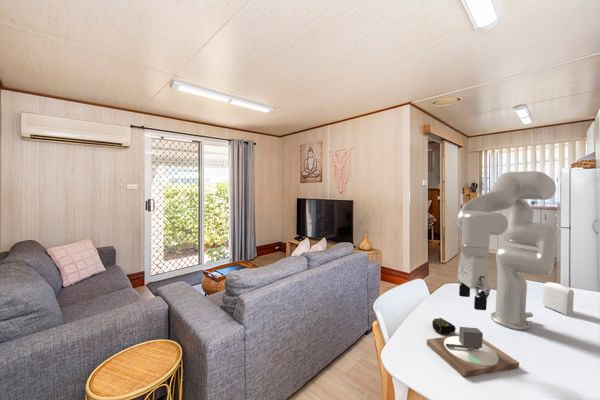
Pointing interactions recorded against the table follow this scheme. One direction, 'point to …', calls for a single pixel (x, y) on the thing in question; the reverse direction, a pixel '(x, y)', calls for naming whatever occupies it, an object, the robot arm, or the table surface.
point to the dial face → (472, 353)
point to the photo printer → (558, 298)
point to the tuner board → (469, 368)
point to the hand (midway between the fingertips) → (471, 302)
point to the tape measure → (443, 326)
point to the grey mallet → (469, 338)
